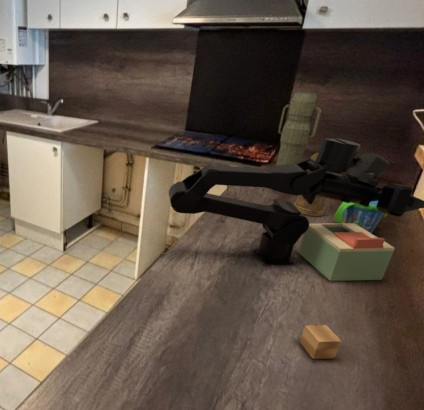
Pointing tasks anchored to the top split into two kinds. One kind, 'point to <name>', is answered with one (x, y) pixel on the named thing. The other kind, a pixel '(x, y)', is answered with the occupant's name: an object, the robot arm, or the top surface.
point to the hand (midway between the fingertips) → (409, 200)
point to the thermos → (297, 127)
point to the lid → (340, 244)
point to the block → (320, 341)
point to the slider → (360, 240)
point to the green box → (343, 259)
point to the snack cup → (360, 215)
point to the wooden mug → (316, 207)
